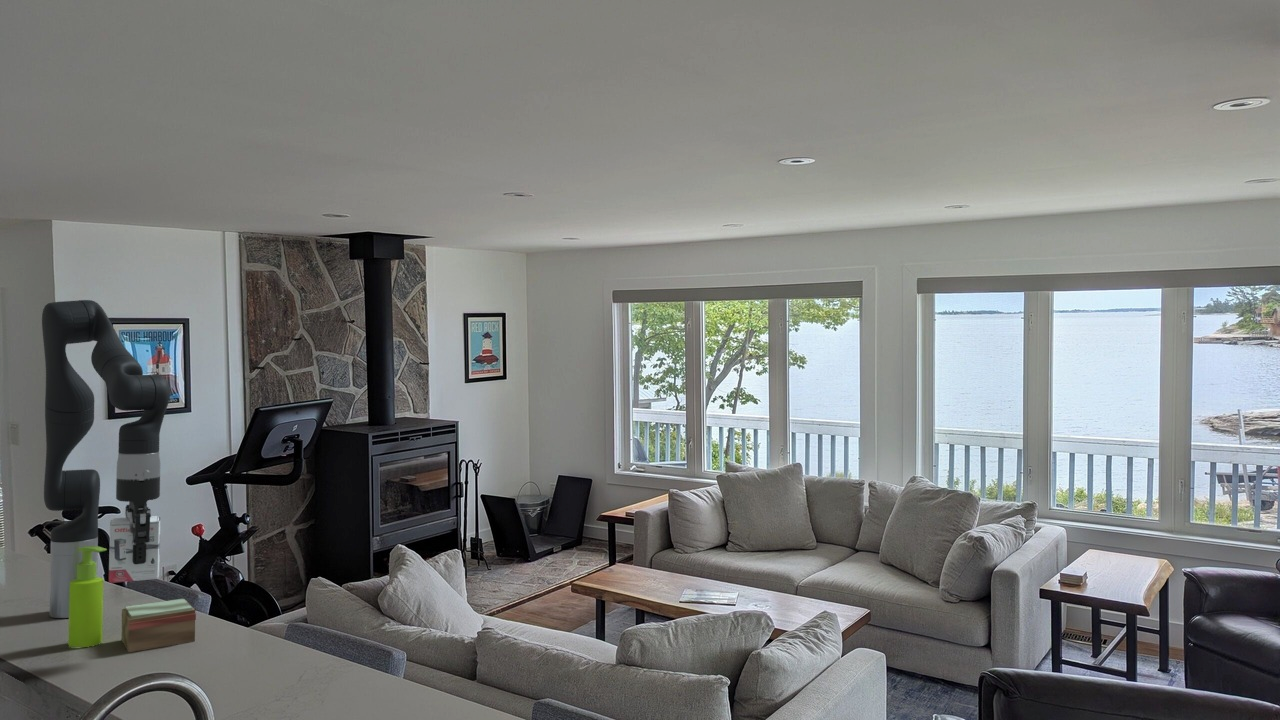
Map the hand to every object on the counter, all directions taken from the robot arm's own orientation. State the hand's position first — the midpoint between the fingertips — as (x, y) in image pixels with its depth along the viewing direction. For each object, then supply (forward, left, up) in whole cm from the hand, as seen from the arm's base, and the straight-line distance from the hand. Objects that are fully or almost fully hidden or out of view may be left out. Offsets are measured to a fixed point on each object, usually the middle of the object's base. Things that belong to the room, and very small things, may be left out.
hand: (136, 560), depth 171 cm
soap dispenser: (-14, -7, -19) cm, 25 cm away
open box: (-8, +5, -19) cm, 21 cm away
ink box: (0, 0, -4) cm, 4 cm away
